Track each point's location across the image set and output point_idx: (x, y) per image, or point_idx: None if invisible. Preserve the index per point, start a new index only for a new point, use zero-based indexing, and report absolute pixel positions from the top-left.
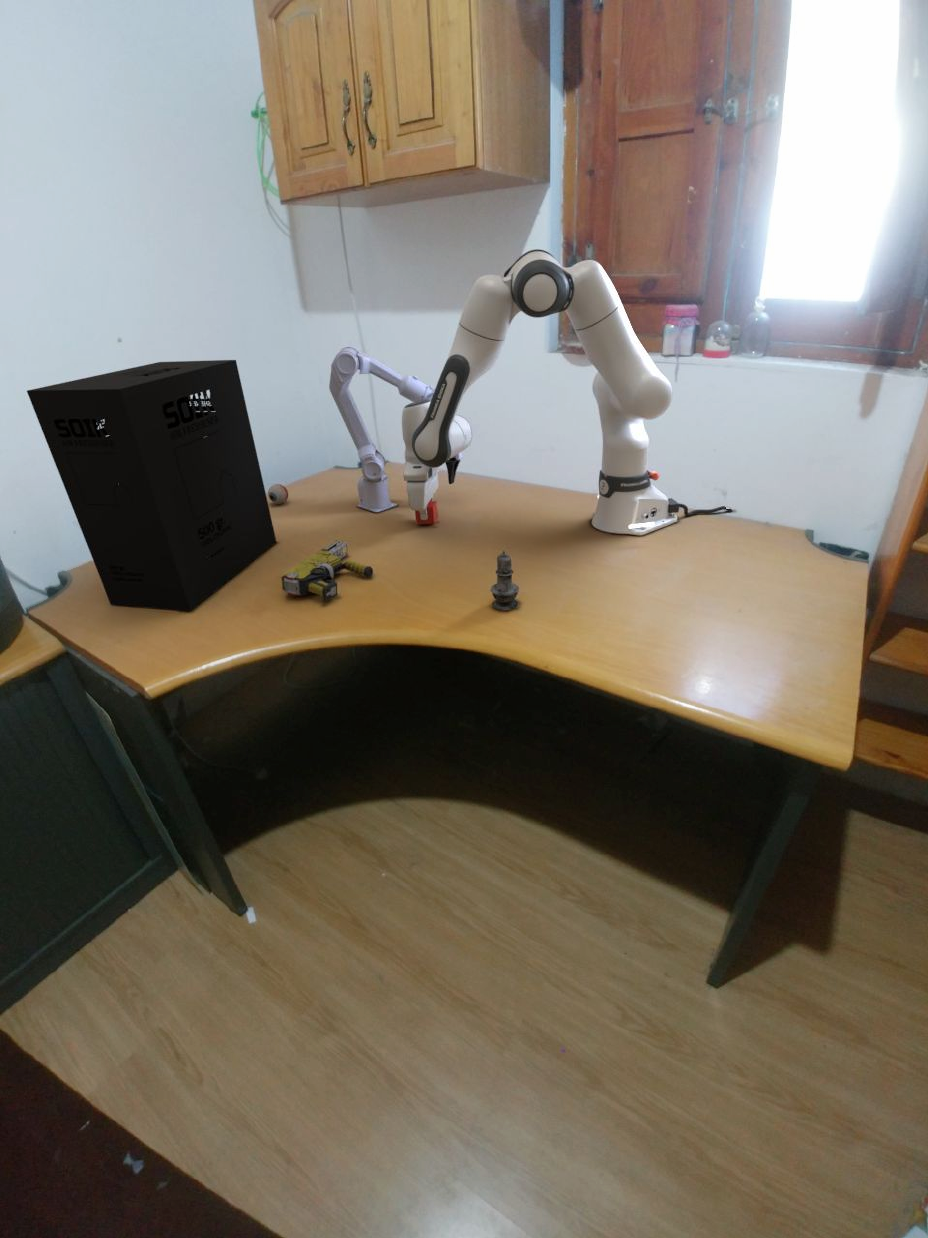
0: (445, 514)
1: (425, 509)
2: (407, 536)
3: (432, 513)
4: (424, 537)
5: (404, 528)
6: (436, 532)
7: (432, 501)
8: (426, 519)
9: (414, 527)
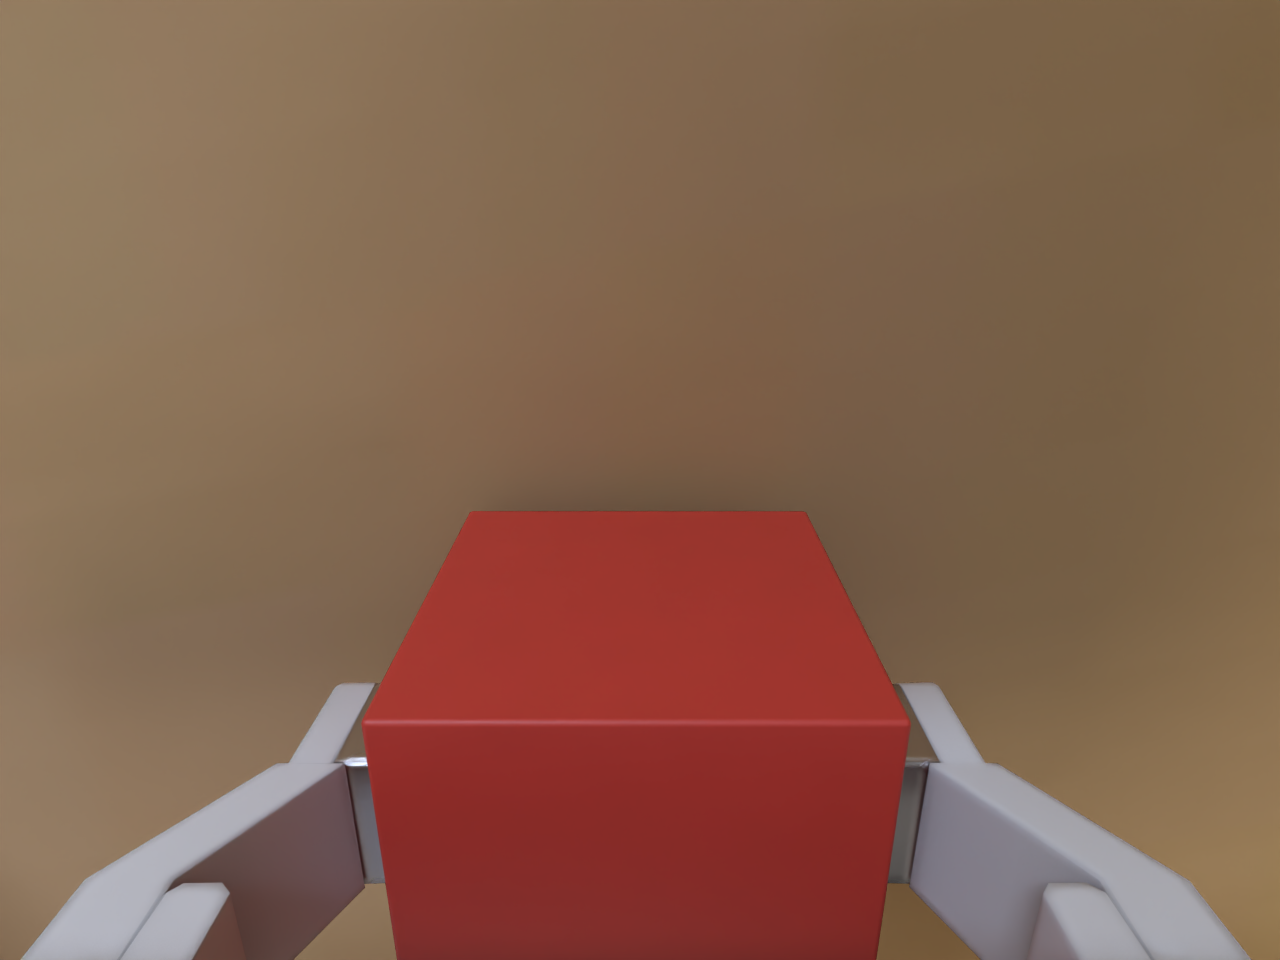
0: (157, 409)
1: (1161, 872)
2: (1158, 792)
3: (860, 637)
4: (1260, 556)
5: None
6: (1069, 404)
7: (402, 816)
8: (927, 685)
9: None
